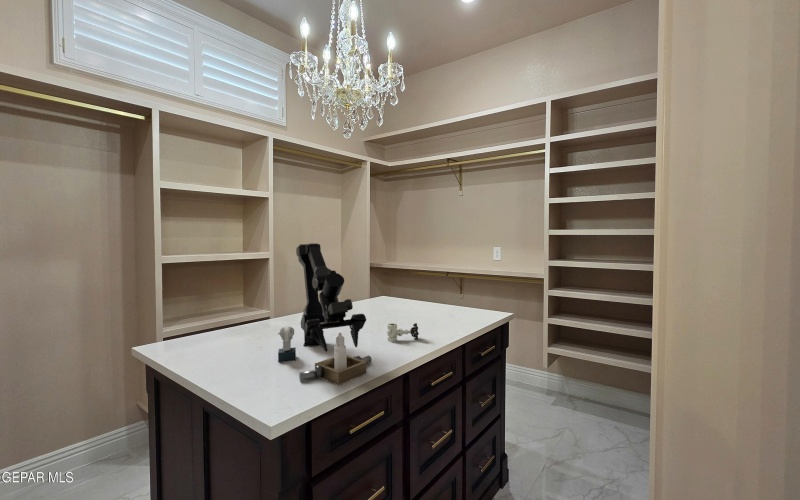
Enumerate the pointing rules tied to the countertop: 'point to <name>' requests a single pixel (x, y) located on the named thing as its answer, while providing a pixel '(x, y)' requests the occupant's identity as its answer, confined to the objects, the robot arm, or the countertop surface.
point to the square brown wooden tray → (339, 377)
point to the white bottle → (340, 354)
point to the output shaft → (311, 374)
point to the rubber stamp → (286, 345)
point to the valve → (400, 332)
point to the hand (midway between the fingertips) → (342, 349)
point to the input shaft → (365, 358)
